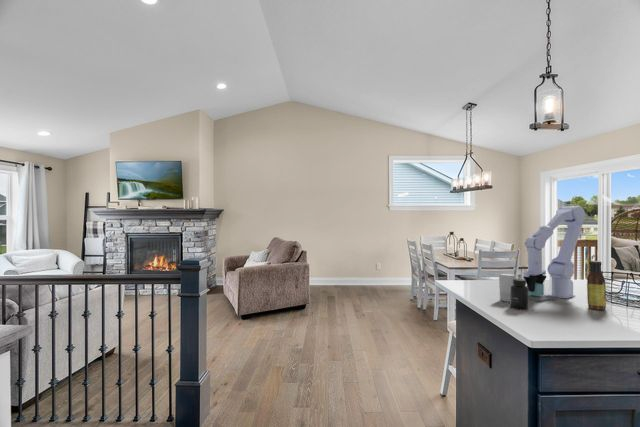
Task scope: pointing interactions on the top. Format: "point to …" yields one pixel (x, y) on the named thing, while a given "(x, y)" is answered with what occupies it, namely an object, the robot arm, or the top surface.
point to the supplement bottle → (519, 294)
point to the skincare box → (505, 286)
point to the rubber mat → (540, 298)
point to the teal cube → (538, 290)
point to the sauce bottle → (596, 287)
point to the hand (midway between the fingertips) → (534, 290)
